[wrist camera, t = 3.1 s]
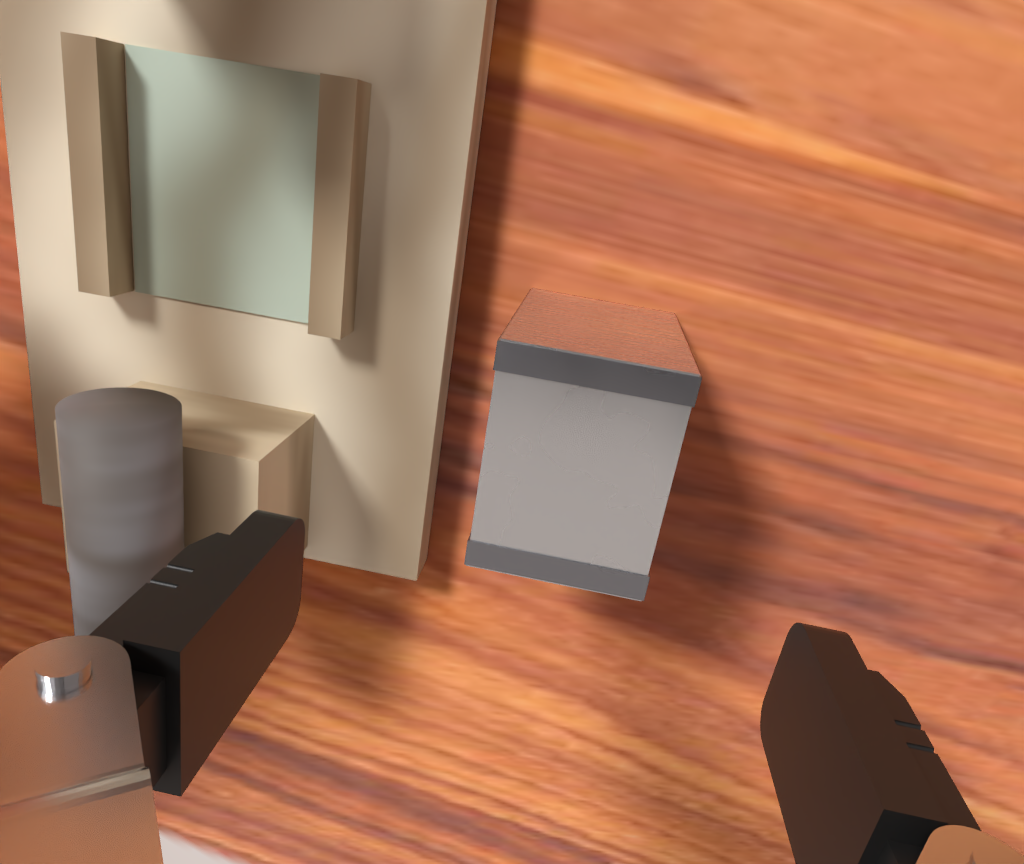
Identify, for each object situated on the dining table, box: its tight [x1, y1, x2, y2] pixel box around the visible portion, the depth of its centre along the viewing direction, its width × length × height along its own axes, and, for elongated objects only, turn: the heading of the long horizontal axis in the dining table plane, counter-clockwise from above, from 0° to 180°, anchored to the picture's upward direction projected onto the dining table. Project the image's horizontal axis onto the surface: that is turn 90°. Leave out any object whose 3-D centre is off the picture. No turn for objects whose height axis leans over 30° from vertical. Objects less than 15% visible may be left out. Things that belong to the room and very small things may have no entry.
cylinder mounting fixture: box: [0, 0, 497, 636], centre depth 19 cm, size 14×24×8 cm, turn 171°
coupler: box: [464, 288, 702, 601], centre depth 20 cm, size 5×6×7 cm
